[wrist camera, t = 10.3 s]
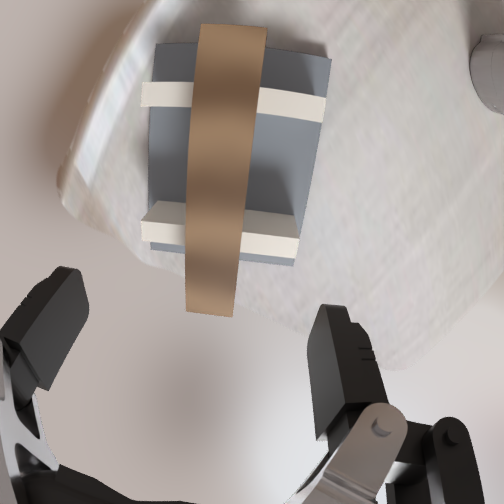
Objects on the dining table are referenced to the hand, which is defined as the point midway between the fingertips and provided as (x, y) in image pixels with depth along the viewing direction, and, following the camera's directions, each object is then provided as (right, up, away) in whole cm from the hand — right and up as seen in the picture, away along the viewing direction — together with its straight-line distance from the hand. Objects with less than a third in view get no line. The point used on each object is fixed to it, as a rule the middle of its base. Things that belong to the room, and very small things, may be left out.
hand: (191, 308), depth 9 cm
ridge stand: (0, +11, +19) cm, 22 cm away
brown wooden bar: (0, +8, +14) cm, 16 cm away
